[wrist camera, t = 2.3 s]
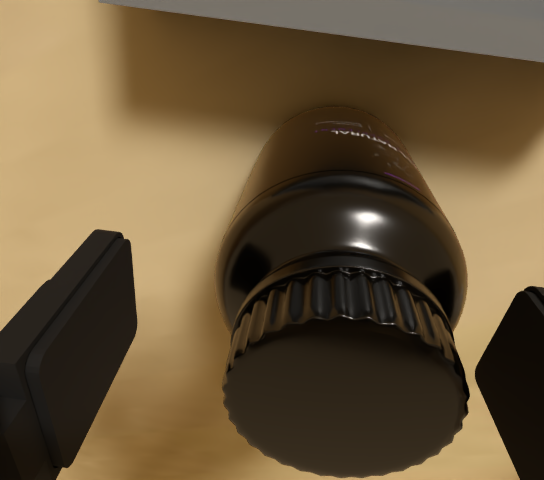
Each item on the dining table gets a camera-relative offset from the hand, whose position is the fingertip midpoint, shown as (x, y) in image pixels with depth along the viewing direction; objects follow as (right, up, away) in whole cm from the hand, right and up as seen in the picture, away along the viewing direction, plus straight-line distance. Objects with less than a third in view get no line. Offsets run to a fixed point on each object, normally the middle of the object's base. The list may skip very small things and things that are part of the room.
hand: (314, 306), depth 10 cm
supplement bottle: (+1, +4, +8) cm, 10 cm away
